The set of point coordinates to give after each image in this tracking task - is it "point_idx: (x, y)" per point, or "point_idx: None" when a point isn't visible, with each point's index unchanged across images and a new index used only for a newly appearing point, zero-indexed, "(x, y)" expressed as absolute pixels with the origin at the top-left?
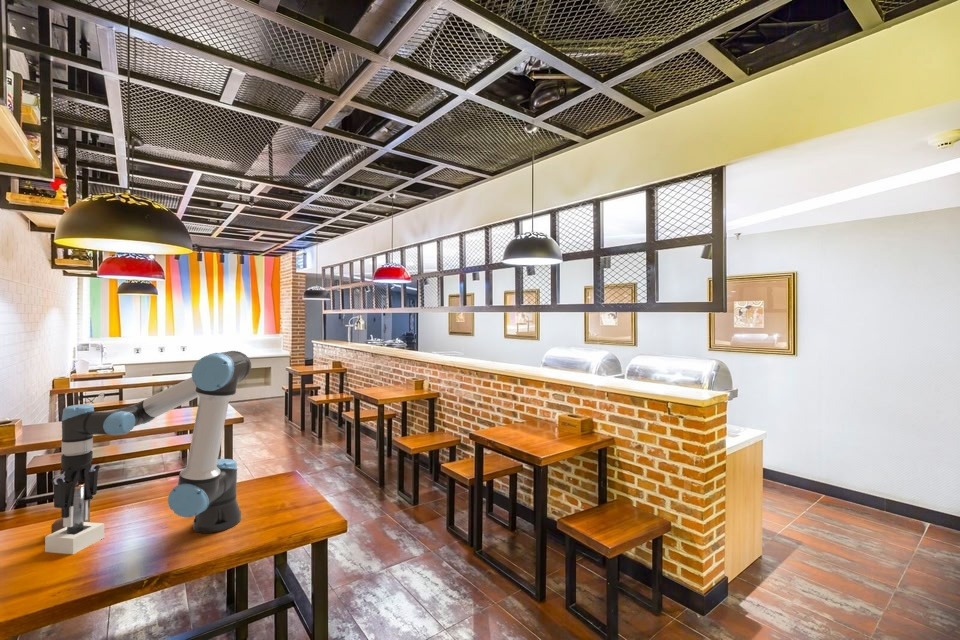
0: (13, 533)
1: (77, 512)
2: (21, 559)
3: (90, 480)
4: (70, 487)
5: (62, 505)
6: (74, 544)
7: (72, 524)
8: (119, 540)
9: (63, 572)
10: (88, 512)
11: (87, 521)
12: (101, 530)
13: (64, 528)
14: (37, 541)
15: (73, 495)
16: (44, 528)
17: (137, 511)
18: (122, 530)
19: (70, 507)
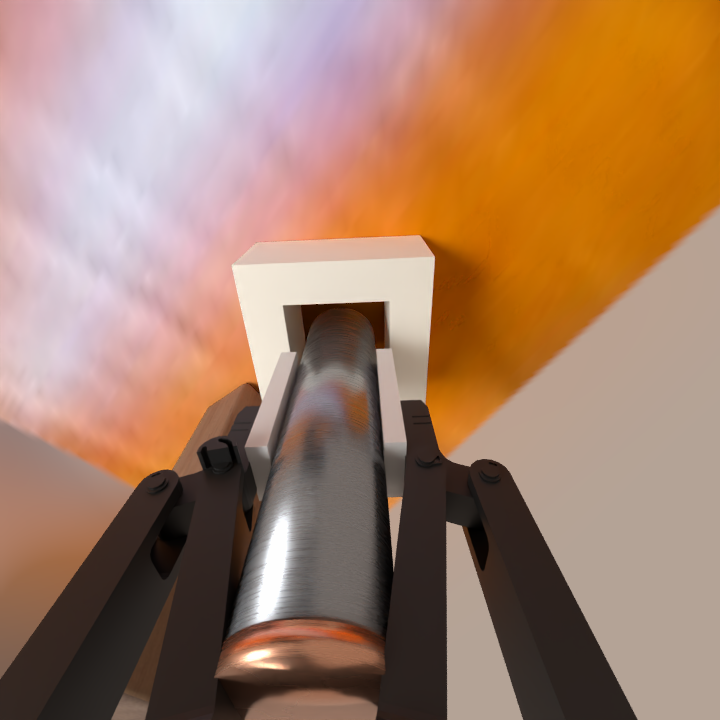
0: None
1: (354, 391)
2: (470, 398)
3: (95, 690)
4: (445, 701)
5: (498, 481)
6: (421, 246)
7: (379, 355)
8: (244, 117)
9: (596, 83)
10: (194, 450)
11: (218, 415)
12: (260, 253)
13: None
14: None
15: (382, 546)
16: None
17: (8, 348)
18: (161, 226)
19: (406, 443)
